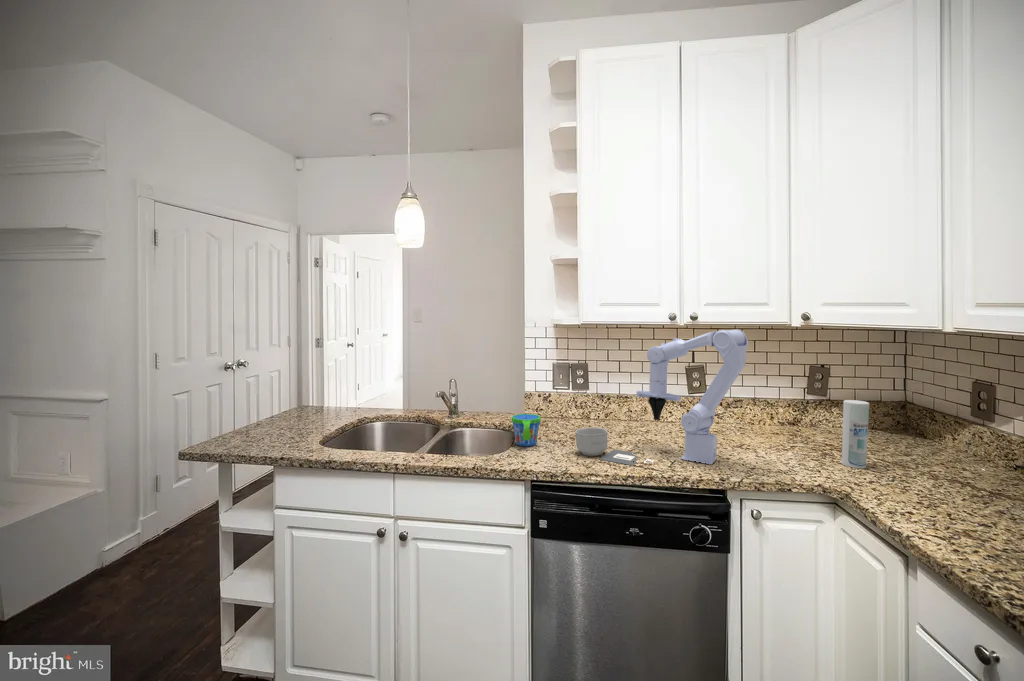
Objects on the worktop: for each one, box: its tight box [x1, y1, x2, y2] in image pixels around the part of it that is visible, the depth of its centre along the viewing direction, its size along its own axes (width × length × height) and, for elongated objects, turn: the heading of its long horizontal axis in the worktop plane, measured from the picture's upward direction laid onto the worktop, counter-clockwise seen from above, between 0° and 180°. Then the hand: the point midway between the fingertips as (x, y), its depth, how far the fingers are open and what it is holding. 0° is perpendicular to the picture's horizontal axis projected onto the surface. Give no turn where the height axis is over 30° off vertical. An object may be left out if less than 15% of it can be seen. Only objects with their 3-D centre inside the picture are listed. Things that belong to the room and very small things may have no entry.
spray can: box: [841, 399, 870, 469], centre depth 147 cm, size 6×6×20 cm
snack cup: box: [511, 413, 542, 447], centre depth 171 cm, size 16×10×10 cm
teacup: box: [574, 426, 609, 457], centre depth 161 cm, size 14×11×8 cm
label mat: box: [598, 449, 654, 466], centre depth 153 cm, size 21×13×1 cm, turn 56°
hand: (656, 419), depth 165 cm, fingers closed
